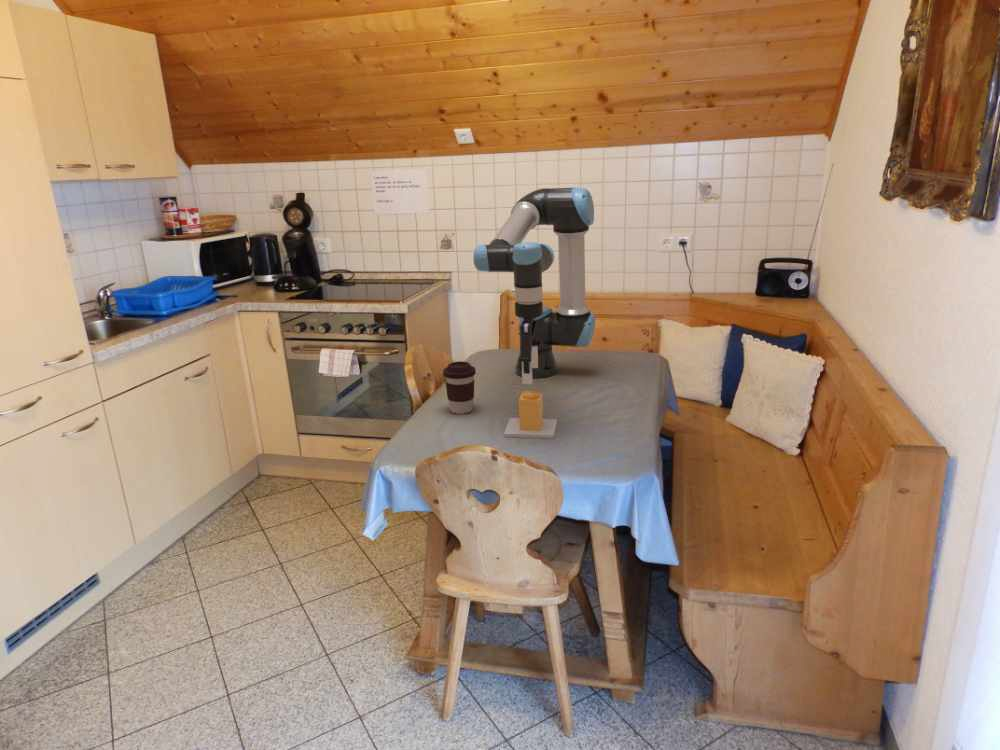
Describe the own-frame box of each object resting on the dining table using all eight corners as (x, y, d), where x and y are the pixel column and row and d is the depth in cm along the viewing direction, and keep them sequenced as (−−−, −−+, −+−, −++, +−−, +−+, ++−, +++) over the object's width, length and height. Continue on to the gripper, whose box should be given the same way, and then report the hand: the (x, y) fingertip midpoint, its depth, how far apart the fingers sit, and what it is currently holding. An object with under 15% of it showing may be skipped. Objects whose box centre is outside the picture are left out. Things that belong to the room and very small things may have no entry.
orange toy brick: (522, 421, 197) (521, 389, 194) (542, 422, 196) (542, 389, 193) (519, 429, 191) (518, 396, 188) (540, 430, 190) (540, 396, 187)
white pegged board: (510, 420, 201) (509, 398, 199) (557, 422, 198) (557, 400, 196) (503, 436, 190) (503, 413, 187) (553, 438, 187) (553, 415, 185)
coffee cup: (453, 418, 204) (450, 371, 200) (440, 408, 213) (437, 363, 208) (482, 412, 208) (480, 365, 204) (469, 402, 217) (466, 357, 212)
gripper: (520, 291, 195) (522, 361, 202) (507, 312, 171) (510, 390, 178) (546, 291, 193) (548, 361, 200) (537, 312, 170) (538, 391, 177)
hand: (530, 375), depth 189 cm, fingers open, 13 cm apart
